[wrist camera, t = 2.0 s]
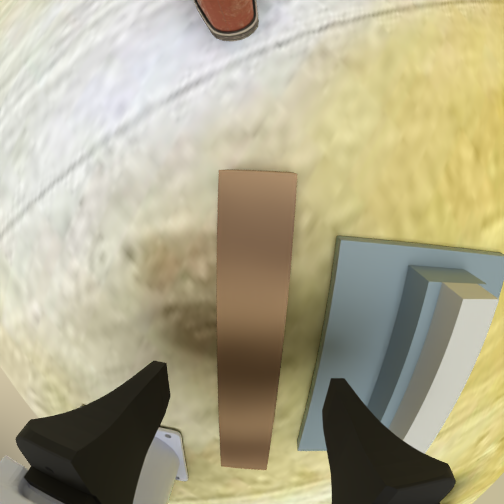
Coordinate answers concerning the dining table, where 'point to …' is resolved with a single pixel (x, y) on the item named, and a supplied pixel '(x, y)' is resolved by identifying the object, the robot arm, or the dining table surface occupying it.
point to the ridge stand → (402, 332)
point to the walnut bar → (251, 307)
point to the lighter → (229, 17)
